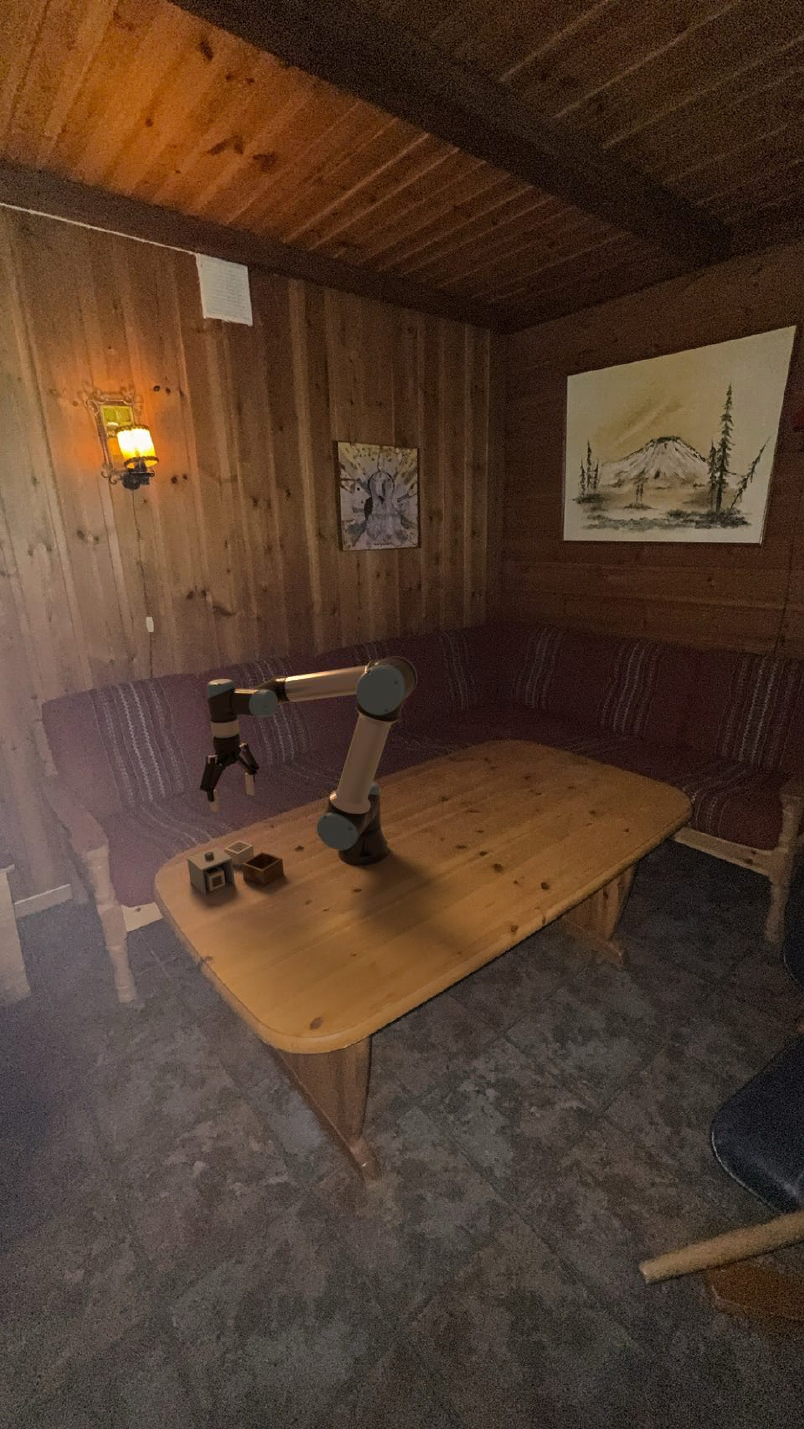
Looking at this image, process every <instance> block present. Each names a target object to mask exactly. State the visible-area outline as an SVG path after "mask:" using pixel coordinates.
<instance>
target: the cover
mask: <svg viewBox="0 0 804 1429" xmlns="http://www.w3.org/2000/svg"><path fill="white" fill-rule="evenodd" d="M186 859H187V866H188V873H189V874H188V875H189V881H190V882H189V883H190V884H191V885H192V886H193V887H195V889H197V890H198V892H200V893H201V894H202V895H203V896H204V897H205V896H206V895H207V890H206V887H205V881H204V874H203V871H204V870H206V869H209V868H212V867H214V866H218V867H220V868H221V869H222V870H223V871H224V878H226V879H225V880H228V881H229V882H230V883H231V884H233V885H235V875H234V874H235V872H234V865H233V863H232V858H231V857H230V856H229V855H227V854H226V853H225V852H224V850H222V849H221V848H220V847H217V846H215V847H213V848H210V849H207V850H205V851H201V852H198V853H197V854H193V855H191V856H188V857H187V858H186Z"/></svg>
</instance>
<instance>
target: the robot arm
mask: <svg viewBox="0 0 804 1429" xmlns="http://www.w3.org/2000/svg"><path fill="white" fill-rule="evenodd" d="M417 684H418V673H417V670H416V667H415V666H414V664H413V663H412V662H411V661H410V660H409V659H408V658H405V657H403V656H399V655H393V656H392V655H391V656H389V657H385V658H381V659H374V660H370V661H369V662H368V663H367V664H366V665H357V666H353V667H345V668H338V669H333V670H326V671H319V672H313V673H312V672H311V673H304V674H297V675H292V676H285V675H279V676H275V677H272V678H271V679H269V680H267V681H265V682H263V683H260V684H259V685H256V686H254V687H252V688H239V687H236V686H235V682H234V680H232V679H229V678H220V679H219V678H218V679H213V680H211V681H209V682H208V683H207V684H206V694H207V695H206V696H207V697H206V699H207V704H208V709H209V716H210V718H209V719H210V729H211V734H212V737H211V738H212V739H211V740H212V746H213V749H214V751H215V752H214V755H206V756H205V766H204V771H203V775H202V777H201V782H200V785H199V790H200V791H202V792H206V797H207V801H208V802H209V805H210V807H209V808H210V811H212V812H214V813H220V807H219V798H218V790H216V787H217V785H218V782H219V780H220V779H221V777H222V774H223V771H225V770H226V769H227V767H230V766H232V765H235V764H237V765H238V766H240V767H241V769H243V770H244V771H246V773H244V778H245V789H246V794H247V795H250V796H252V797H253V796H254V797H255V795H256V793H255V783H256V776H255V775H257V773H258V771H259V769H260V766H259V764H258V762H257V760H256V759H255V757H254V756H253V754H252V752H251V750H250V746H249V744H248V743H244V742H241V736H240V735H241V734H240V733H239V732H240V725H239V717H238V716H244V717H245V716H246V717H256V718H265V717H267V718H269V717H272V716H274V715H275V712H276V711H277V710H278V705H281V704H287V703H295V702H303V701H310V700H311V701H312V700H318V699H326V698H327V699H328V698H333V697H343V696H350V695H351V696H352V695H356V699H357V701H356V704H355V710H356V711H357V713H358V715H359V716H358V718H357V722H356V724H355V725H356V726H355V729H354V731H353V732H354V733H353V735H352V739H351V741H350V742H351V743H350V745H349V748H348V752H347V756H346V759H345V762H344V766H343V769H342V772H341V776H340V779H339V784H338V785H337V786H338V787H337V789H335V790H333V791H331V793H330V795H329V797H328V800H327V802H326V803H327V804H326V808H325V810H324V813H323V814H321V816H319V818H318V820H317V822H316V833H317V836H318V837H319V838H320V840H321V841H322V843H323V844H324V845H325V846H326V847H328V848H330V849H333V850H336V851H337V855H338V858H339V860H341V861H342V862H344V863H346V864H350V865H355V866H363V865H364V866H366V865H372V864H375V863H377V862H381V861H382V860H384V859H385V858H386V856H387V854H388V852H389V851H388V850H389V849H388V843H387V842H388V841H387V840H386V839H385V835H384V833H383V830H382V822H381V821H382V820H381V818H382V816H381V814H382V813H381V791H380V785H379V784H378V783H377V782H375V781H374V779H375V776H376V773H377V770H378V765H379V762H380V760H381V758H382V754H383V751H384V746H385V744H386V741H387V738H388V736H389V735H388V734H389V732H390V728H391V725H392V724H394V723H396V722H398V721H399V719H400V716H401V713H402V710H403V707H404V704H405V701H406V699H407V698H408V697H409V696H410V695H411V694H412V693H413V692H414V691H415V689H416V687H417ZM240 754H242V755H243V757H244V758H243V757H242V756H241V755H240ZM244 759H245V760H246V761H245V760H244Z"/></svg>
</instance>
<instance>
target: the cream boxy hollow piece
mask: <svg viewBox="0 0 804 1429" xmlns="http://www.w3.org/2000/svg"><path fill="white" fill-rule="evenodd" d="M203 874H204V881H205V889H206V888H207V890H209V892H211V891H213V890H216V889H219V888H221V887H224V886H225V885H226V879H225V877H224V871H223V870H222V869H221V868H220V867H218V866H214V867H212V868H209V869H206V870H204V871H203Z"/></svg>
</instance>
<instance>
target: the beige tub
mask: <svg viewBox="0 0 804 1429" xmlns="http://www.w3.org/2000/svg"><path fill="white" fill-rule="evenodd" d="M254 850H255V849H254V844H252V843H248V842H245V841H243V840H237V841H235V842H233V843H231V844H230V845H228V846H226V847H224V848H223V852H225V853H226V854H227V855H229V856H230V857H231V858H232V863H233V867H237V868H242V863H244V862H245V861H247V860H249V859H251V858H252V857H254V856H255V851H254Z"/></svg>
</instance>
